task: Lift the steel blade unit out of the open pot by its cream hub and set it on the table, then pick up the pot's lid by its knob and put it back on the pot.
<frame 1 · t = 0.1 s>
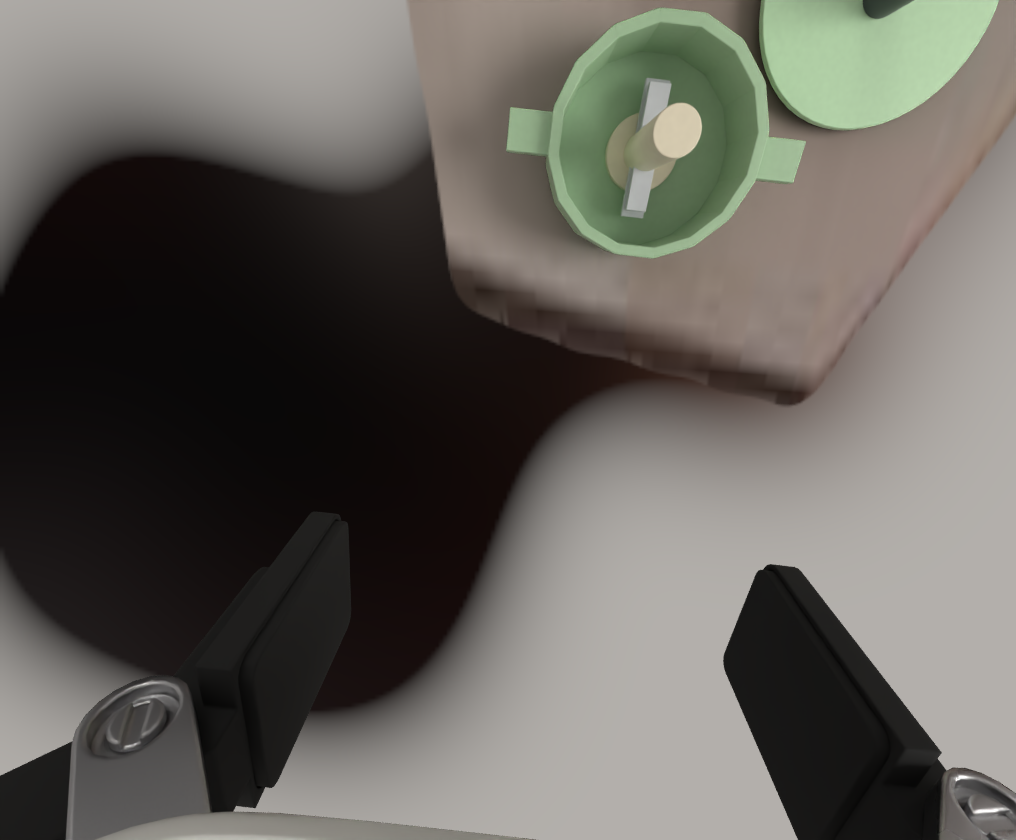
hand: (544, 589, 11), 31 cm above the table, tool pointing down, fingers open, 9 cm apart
pot: (638, 155, 34), on the table
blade: (639, 154, 34), resting on pot
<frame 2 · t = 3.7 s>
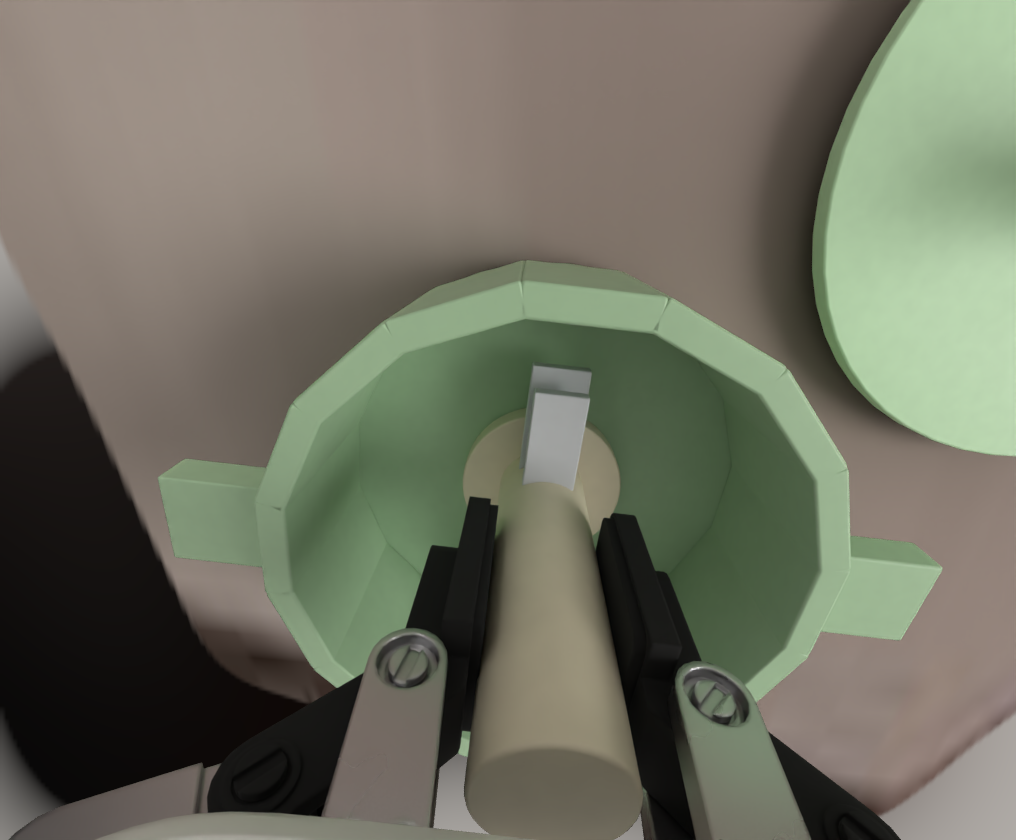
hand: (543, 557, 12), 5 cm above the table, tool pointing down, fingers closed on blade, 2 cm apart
pot: (540, 468, 16), on the table
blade: (540, 476, 15), point 1 cm above the table, touching pot, gripper
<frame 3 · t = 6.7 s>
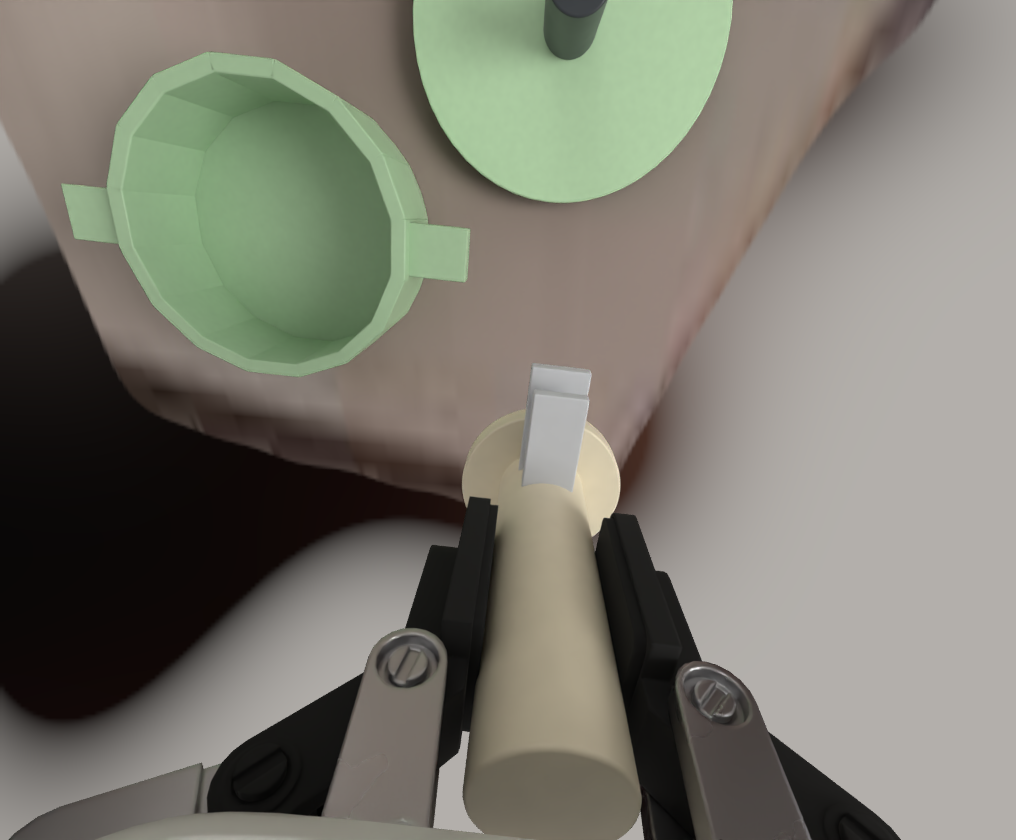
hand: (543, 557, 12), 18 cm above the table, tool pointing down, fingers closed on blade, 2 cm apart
lid: (568, 33, 22), point 1 cm above the table
pot: (311, 231, 26), on the table
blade: (540, 477, 15), point 14 cm above the table, touching gripper
when the fingers open (4 cm above the table, at t = 10.0 s): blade stays where it is, on the table.
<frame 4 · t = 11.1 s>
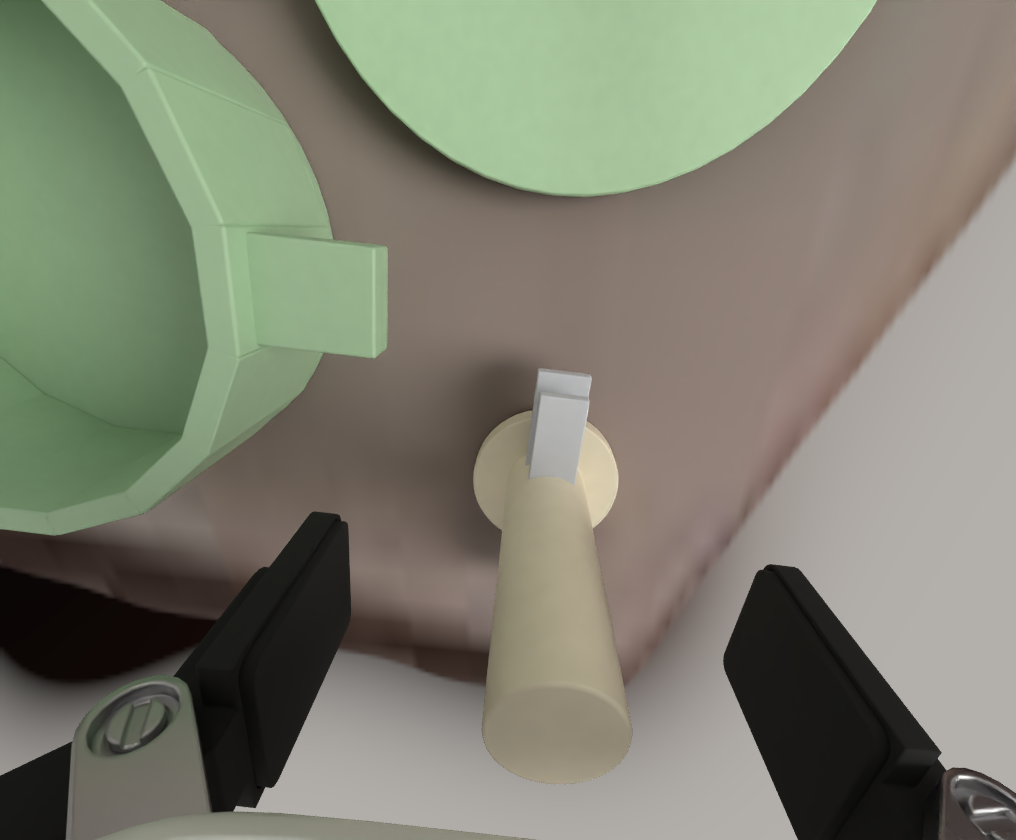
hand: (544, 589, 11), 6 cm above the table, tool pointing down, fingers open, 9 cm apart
pot: (125, 248, 15), on the table
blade: (544, 473, 17), on the table
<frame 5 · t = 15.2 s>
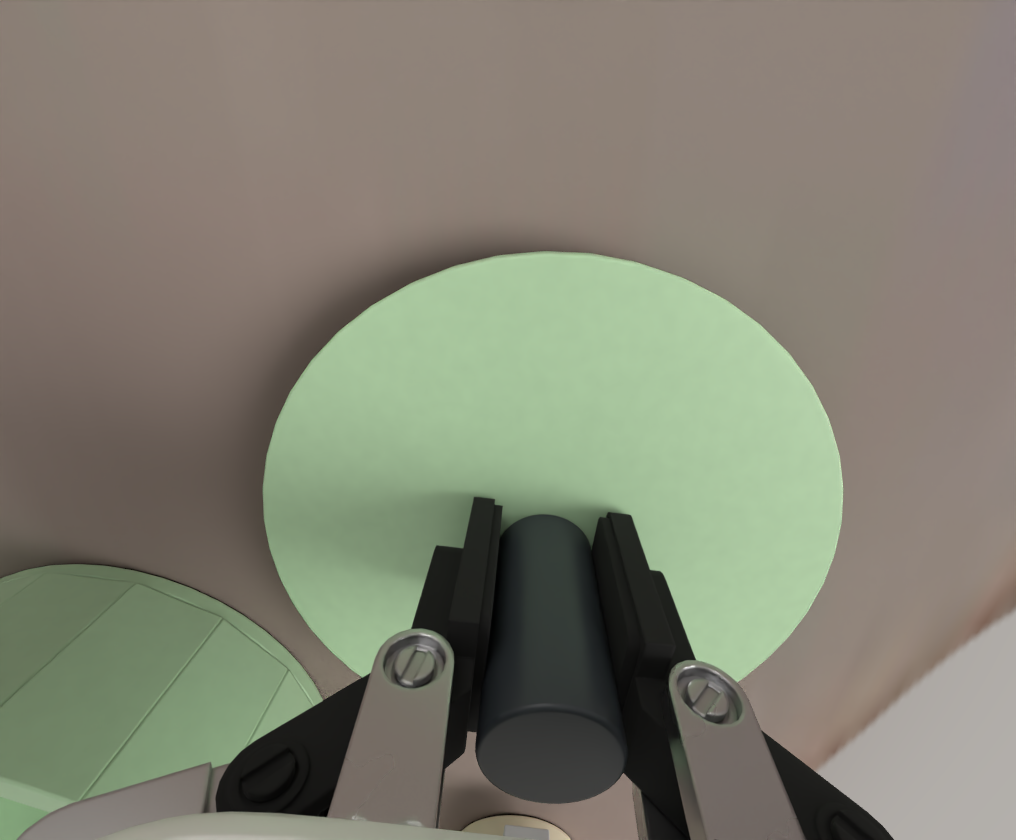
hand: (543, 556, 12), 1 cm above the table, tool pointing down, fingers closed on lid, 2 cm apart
lid: (542, 537, 12), point 1 cm above the table, touching gripper
pot: (148, 711, 17), on the table
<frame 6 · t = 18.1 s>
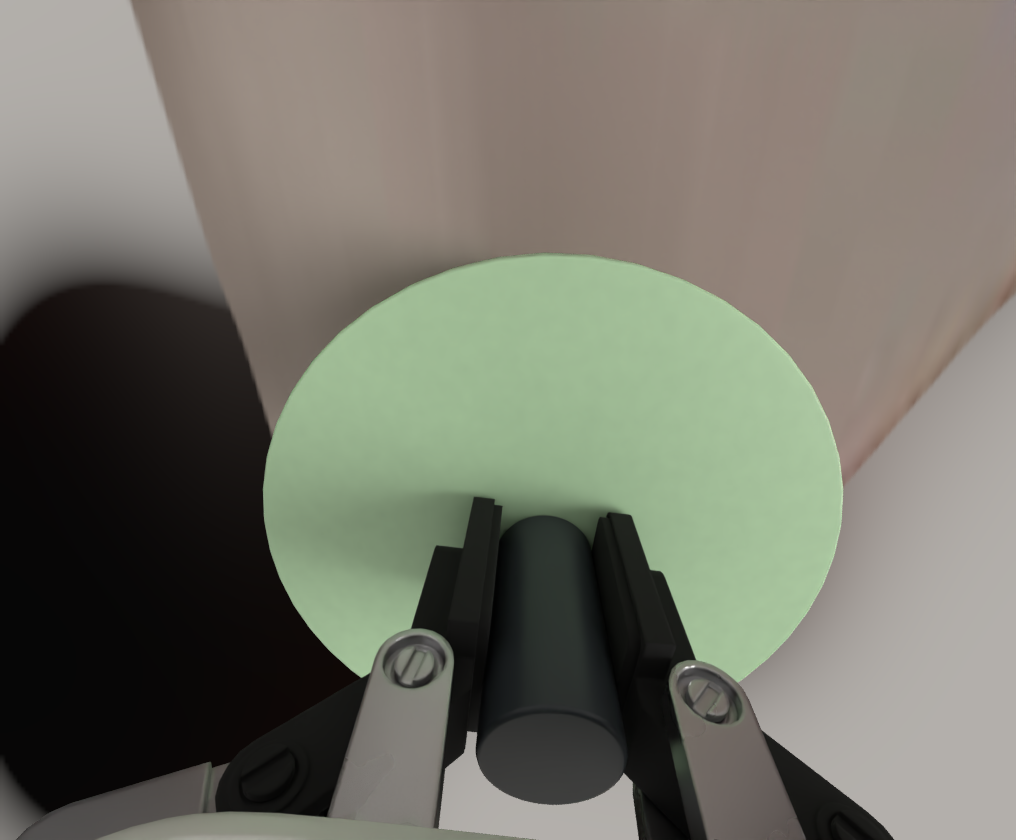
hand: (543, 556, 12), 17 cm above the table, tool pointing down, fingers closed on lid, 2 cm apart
lid: (543, 538, 12), point 16 cm above the table, touching gripper
when the fingers open (6 cm above the table, at t = 21.0 s): lid stays where it is, resting on pot.
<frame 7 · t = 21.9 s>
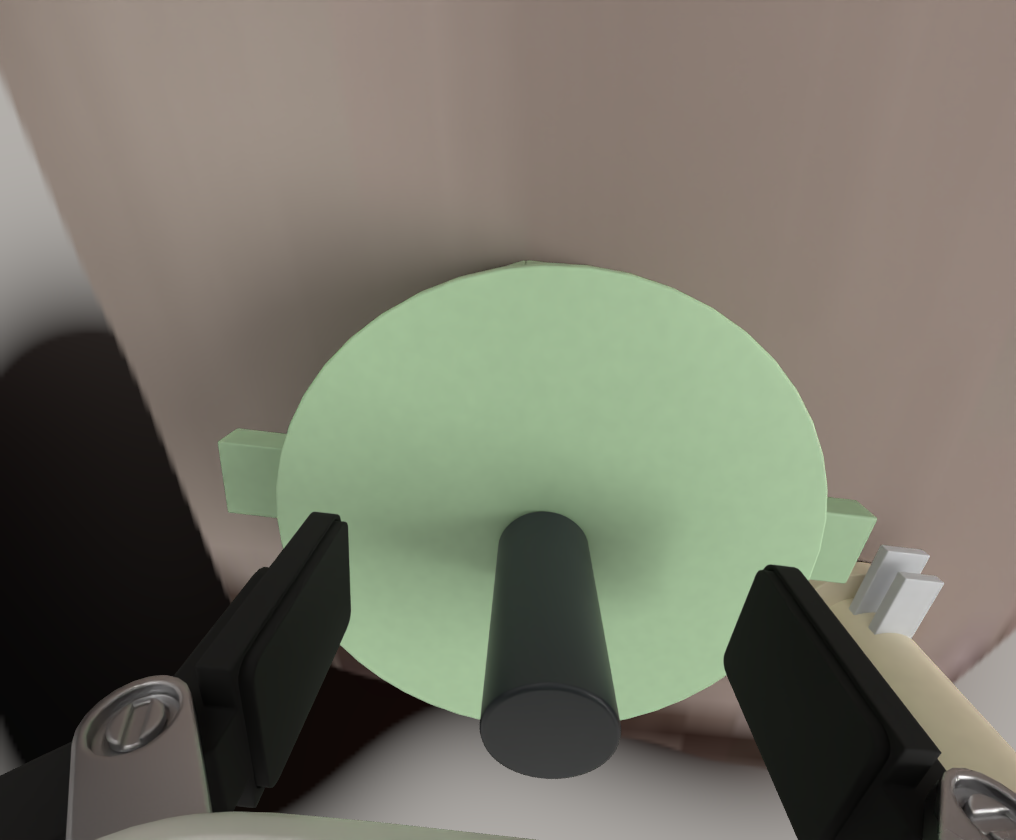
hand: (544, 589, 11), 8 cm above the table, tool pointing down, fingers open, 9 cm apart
lid: (542, 534, 13), point 5 cm above the table, touching pot
pot: (539, 444, 18), on the table
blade: (840, 607, 20), on the table
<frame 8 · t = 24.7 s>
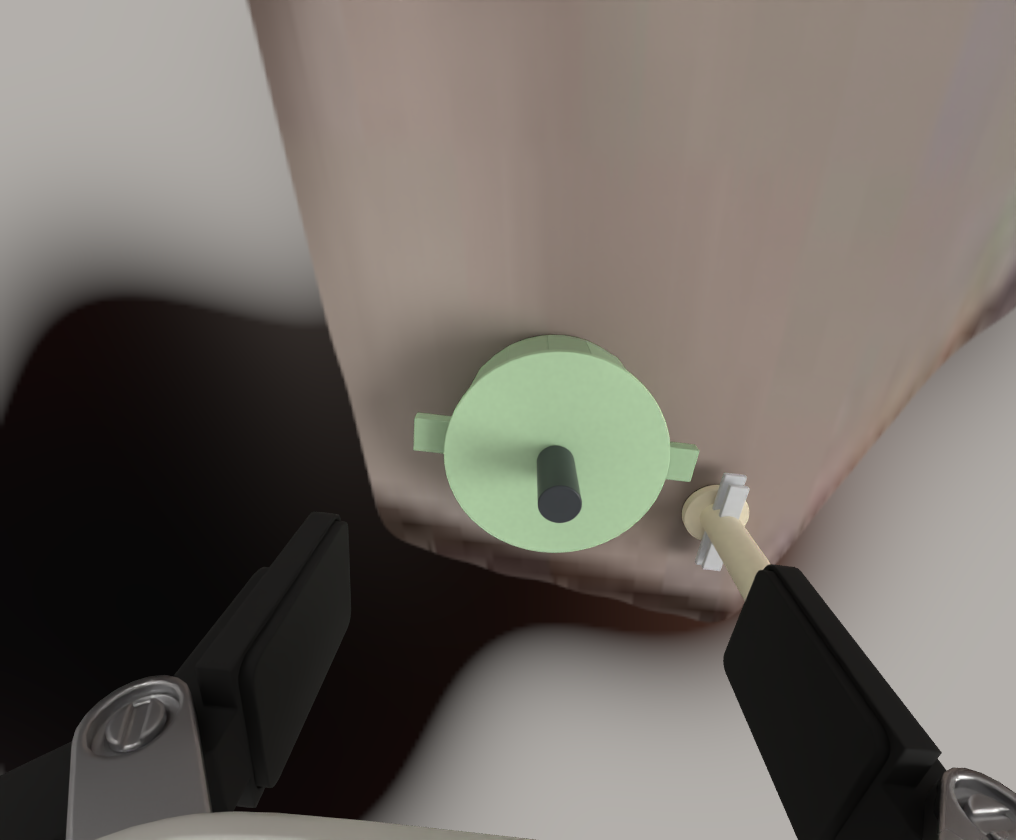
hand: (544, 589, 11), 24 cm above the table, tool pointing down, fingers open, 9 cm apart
lid: (554, 457, 30), point 5 cm above the table, touching pot
pot: (551, 422, 35), on the table
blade: (713, 511, 38), on the table
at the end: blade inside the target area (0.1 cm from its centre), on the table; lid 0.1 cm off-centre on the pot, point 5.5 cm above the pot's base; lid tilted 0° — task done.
